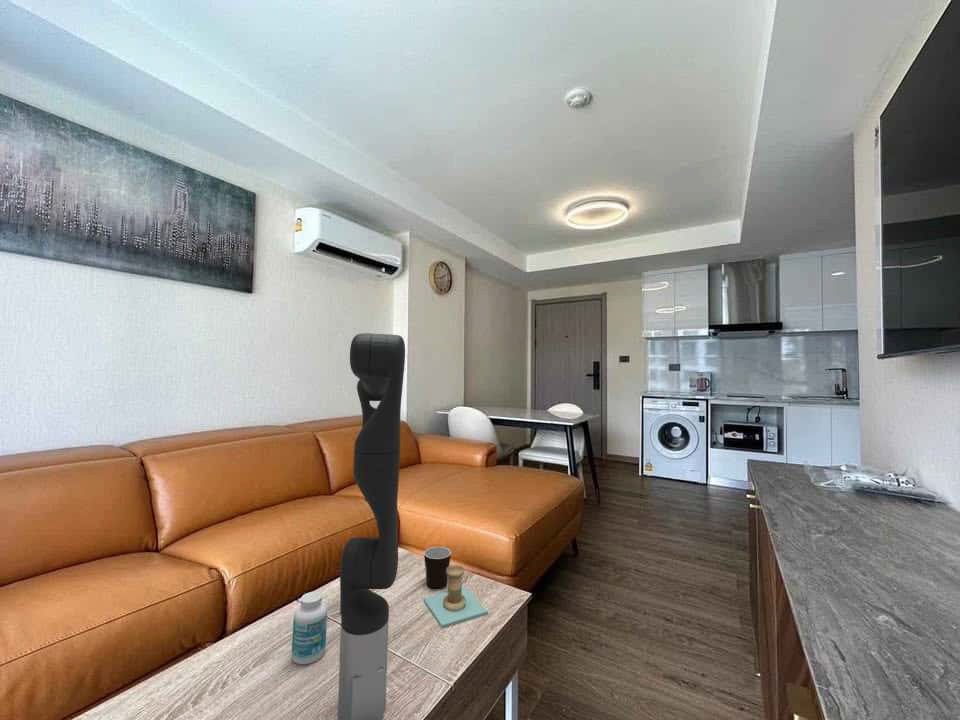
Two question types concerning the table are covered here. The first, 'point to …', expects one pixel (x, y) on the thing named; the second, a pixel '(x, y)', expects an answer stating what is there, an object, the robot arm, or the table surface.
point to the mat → (453, 617)
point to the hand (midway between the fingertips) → (372, 505)
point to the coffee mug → (436, 567)
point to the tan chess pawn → (454, 589)
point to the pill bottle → (309, 629)
